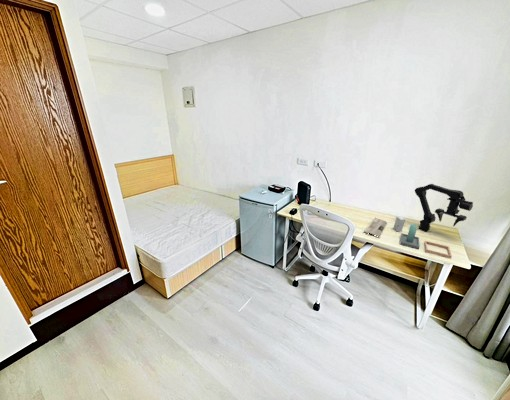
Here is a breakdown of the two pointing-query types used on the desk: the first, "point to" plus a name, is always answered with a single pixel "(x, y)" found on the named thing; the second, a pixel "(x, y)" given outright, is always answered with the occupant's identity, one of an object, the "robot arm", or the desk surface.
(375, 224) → the newspaper
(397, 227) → the skincare box
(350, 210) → the desk surface
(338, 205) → the desk surface
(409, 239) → the canister
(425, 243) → the pink square frame
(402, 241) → the tray
